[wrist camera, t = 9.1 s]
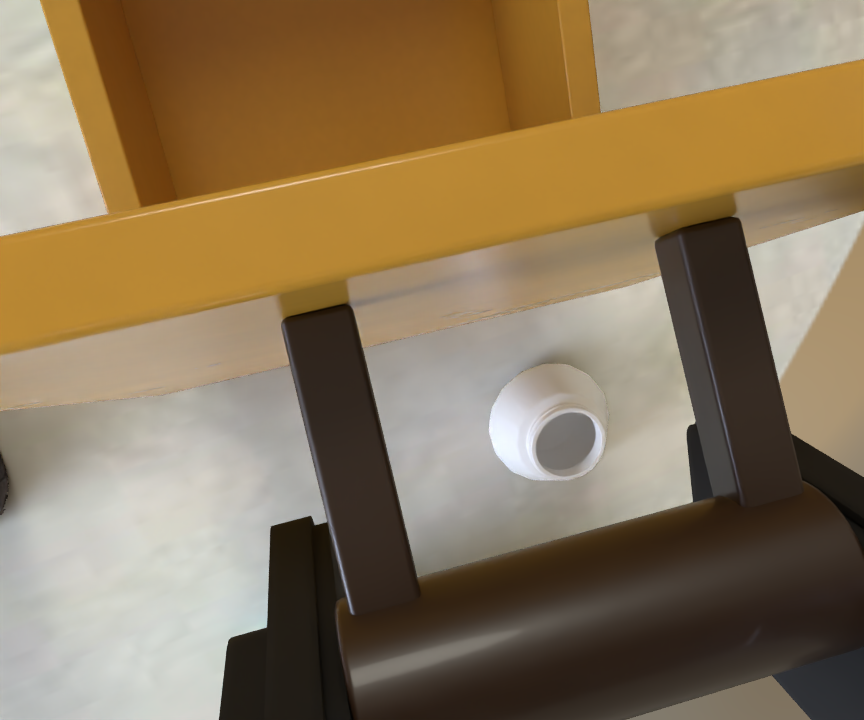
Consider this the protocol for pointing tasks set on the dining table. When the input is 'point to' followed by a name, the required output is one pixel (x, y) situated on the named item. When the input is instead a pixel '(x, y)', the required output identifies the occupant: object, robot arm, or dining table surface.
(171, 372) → the lid
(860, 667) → the robot arm
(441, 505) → the dining table surface
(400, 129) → the open wooden box
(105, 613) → the dining table surface
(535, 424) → the white jar
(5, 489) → the butter churn
